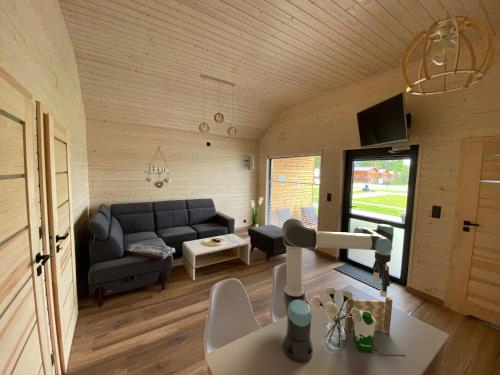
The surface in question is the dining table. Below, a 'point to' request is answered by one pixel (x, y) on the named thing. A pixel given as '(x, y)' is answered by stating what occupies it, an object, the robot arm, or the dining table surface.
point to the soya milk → (364, 332)
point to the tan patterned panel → (386, 314)
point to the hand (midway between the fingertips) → (379, 289)
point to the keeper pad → (386, 345)
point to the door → (371, 311)
